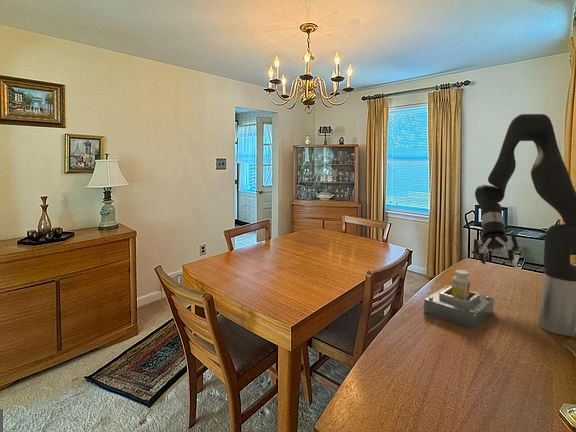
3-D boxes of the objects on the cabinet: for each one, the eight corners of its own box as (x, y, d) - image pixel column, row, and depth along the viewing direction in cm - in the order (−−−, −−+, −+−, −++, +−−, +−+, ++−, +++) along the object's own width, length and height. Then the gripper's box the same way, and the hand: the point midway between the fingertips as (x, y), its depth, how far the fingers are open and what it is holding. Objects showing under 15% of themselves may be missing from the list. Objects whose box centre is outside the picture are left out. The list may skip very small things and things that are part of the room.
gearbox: (492, 311, 111) (494, 292, 110) (473, 330, 99) (475, 309, 98) (445, 297, 123) (446, 280, 121) (423, 312, 111) (424, 293, 110)
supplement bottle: (457, 301, 107) (459, 274, 106) (447, 295, 112) (449, 269, 111) (472, 301, 108) (474, 274, 106) (462, 294, 113) (464, 268, 111)
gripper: (470, 224, 128) (472, 259, 120) (512, 217, 119) (517, 254, 111) (475, 233, 133) (478, 268, 124) (516, 227, 123) (522, 265, 115)
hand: (497, 262), depth 117 cm, fingers open, 8 cm apart
